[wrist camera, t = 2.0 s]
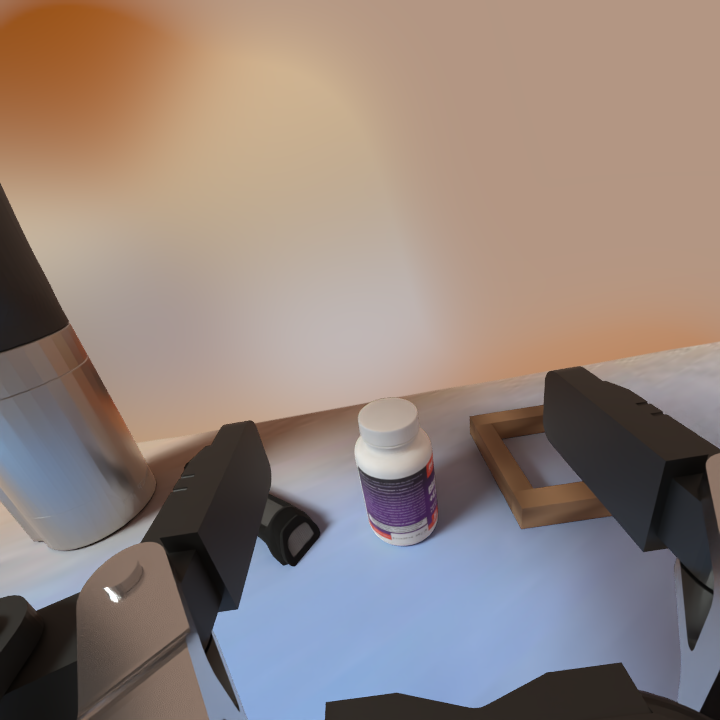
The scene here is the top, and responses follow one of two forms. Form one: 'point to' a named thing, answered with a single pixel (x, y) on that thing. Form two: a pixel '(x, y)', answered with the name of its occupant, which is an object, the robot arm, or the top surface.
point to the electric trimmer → (286, 530)
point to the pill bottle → (396, 472)
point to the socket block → (515, 487)
